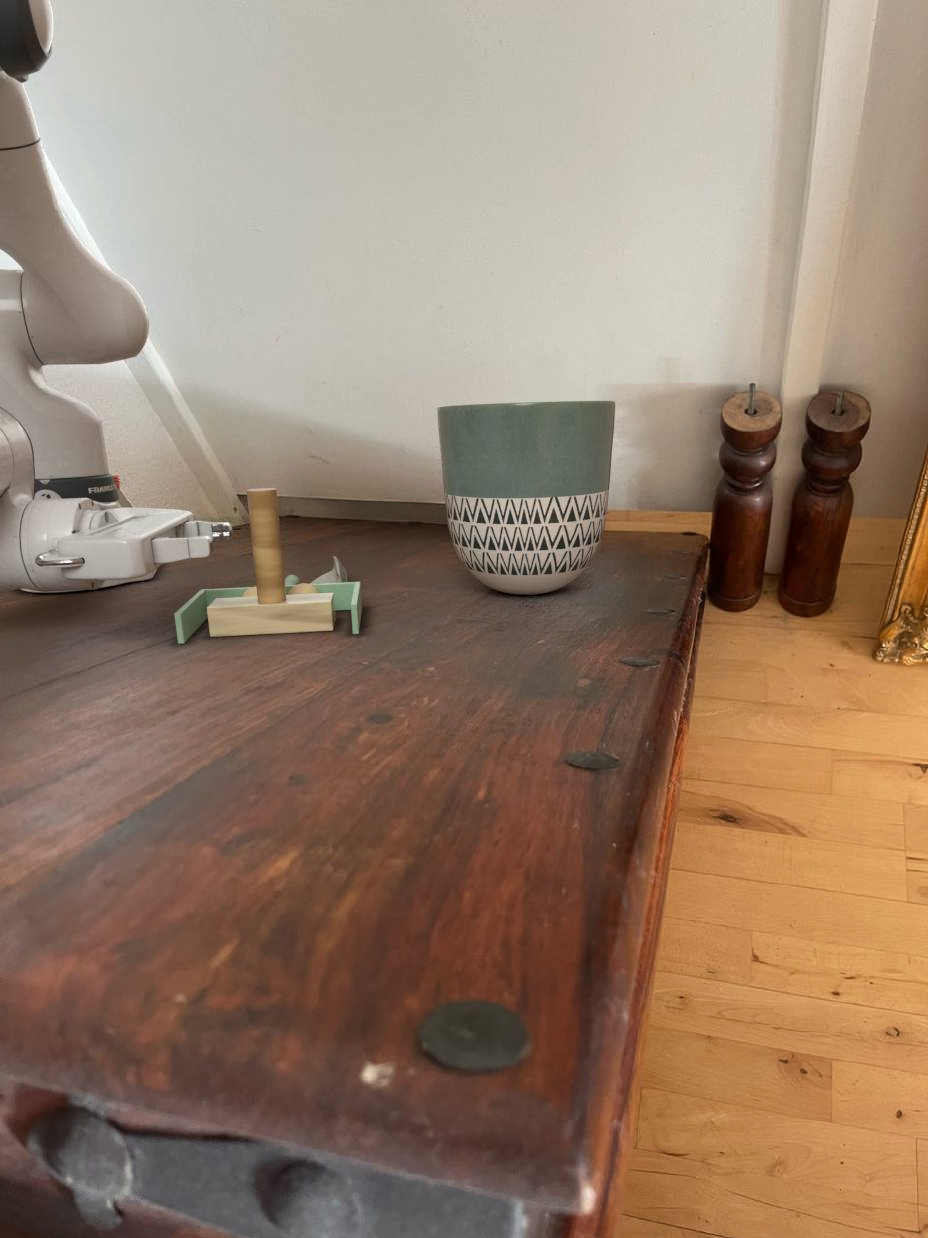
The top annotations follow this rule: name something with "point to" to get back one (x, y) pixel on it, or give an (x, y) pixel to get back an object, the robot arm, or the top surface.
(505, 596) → the top surface
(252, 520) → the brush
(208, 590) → the dustpan
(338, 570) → the ceramic fragment
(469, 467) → the planter
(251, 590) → the cork ball
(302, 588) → the cork ball
